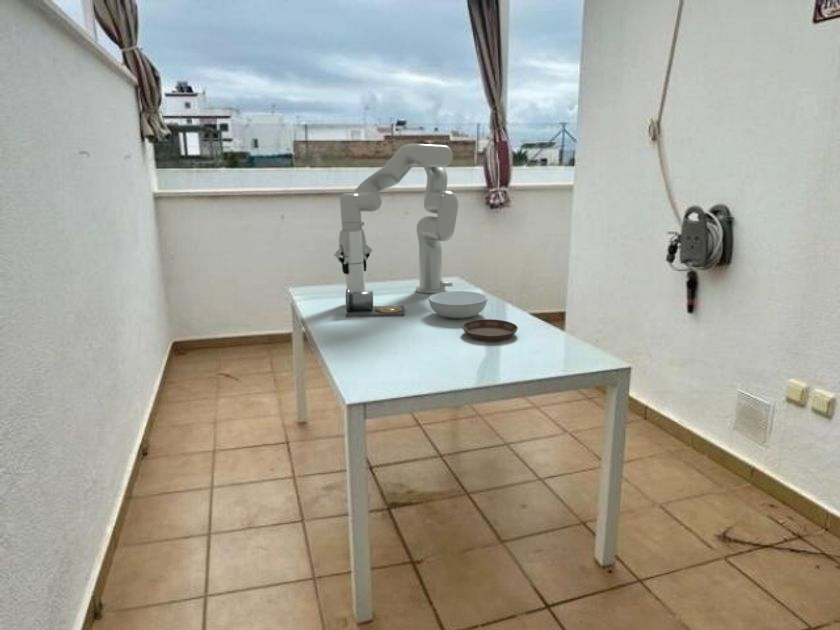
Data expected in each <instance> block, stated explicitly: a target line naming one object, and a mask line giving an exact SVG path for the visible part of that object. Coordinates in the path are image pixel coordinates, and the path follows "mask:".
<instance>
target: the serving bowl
mask: <svg viewBox="0 0 840 630" xmlns="http://www.w3.org/2000/svg"><path fill="white" fill-rule="evenodd" d="M428 301H429V306H430V307H431V309H432V310H433V311H434V312H435V313H436V314H438V315H439V316H442V317H445V318H450V319H456V320H457V319H458V320H459V319H467V318H471V317H474V316H476V315H479V314H480V313H481V312H483V311H484V309H485V307H486V305H487V301H488V296H487V295H486V294H483V293H482V292H476V291H471V290H470V291H467V290H449V291H444V292H440V293H432V295H430V296H429V297H428Z"/></svg>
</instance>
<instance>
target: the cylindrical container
mask: <svg viewBox="0 0 840 630" xmlns="http://www.w3.org/2000/svg"><path fill="white" fill-rule="evenodd" d="M349 239H350V256H349V257H348V261H347V264H348V269H349V274H345V283H346V284H345V285H346V289H350V291H351V292H364V291H366V284H365V281H366V280H365V271H364V263H363V249H362V234H361V230H360V231H350V232H349Z"/></svg>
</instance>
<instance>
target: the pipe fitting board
mask: <svg viewBox="0 0 840 630" xmlns="http://www.w3.org/2000/svg"><path fill="white" fill-rule="evenodd" d="M345 289H346V290H345V309H346V313H345V317H346V318H372V317H373V318H379V317H382V318H384V317H385V318H386V317H387V318H388V317H405V306H404V305H393V304H392V305H390V304H389V305H374V291H372V290H371V291H370V290H369V291H366V290H365V291H364V292H351V291H350V289H347V288H345Z"/></svg>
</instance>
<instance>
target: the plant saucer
mask: <svg viewBox="0 0 840 630" xmlns="http://www.w3.org/2000/svg"><path fill="white" fill-rule="evenodd" d="M461 328H462V330H463V332H464V333H465V334H466V335H467V337H469V338H470V339H472V340H475V341H481V342H501V341H506V340H509V339H511V338H512V337H513V336H514V335H515V334H516V333H517V331H518V329H519V328H518V326H517V324H516V323H513V322H510V321H506V320H504V319H503V320H502V319H491V318H490V319H489V318H488V319H487V318H485V319H476V320H470V321H466V322H465V323H464V324H462V325H461Z"/></svg>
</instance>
